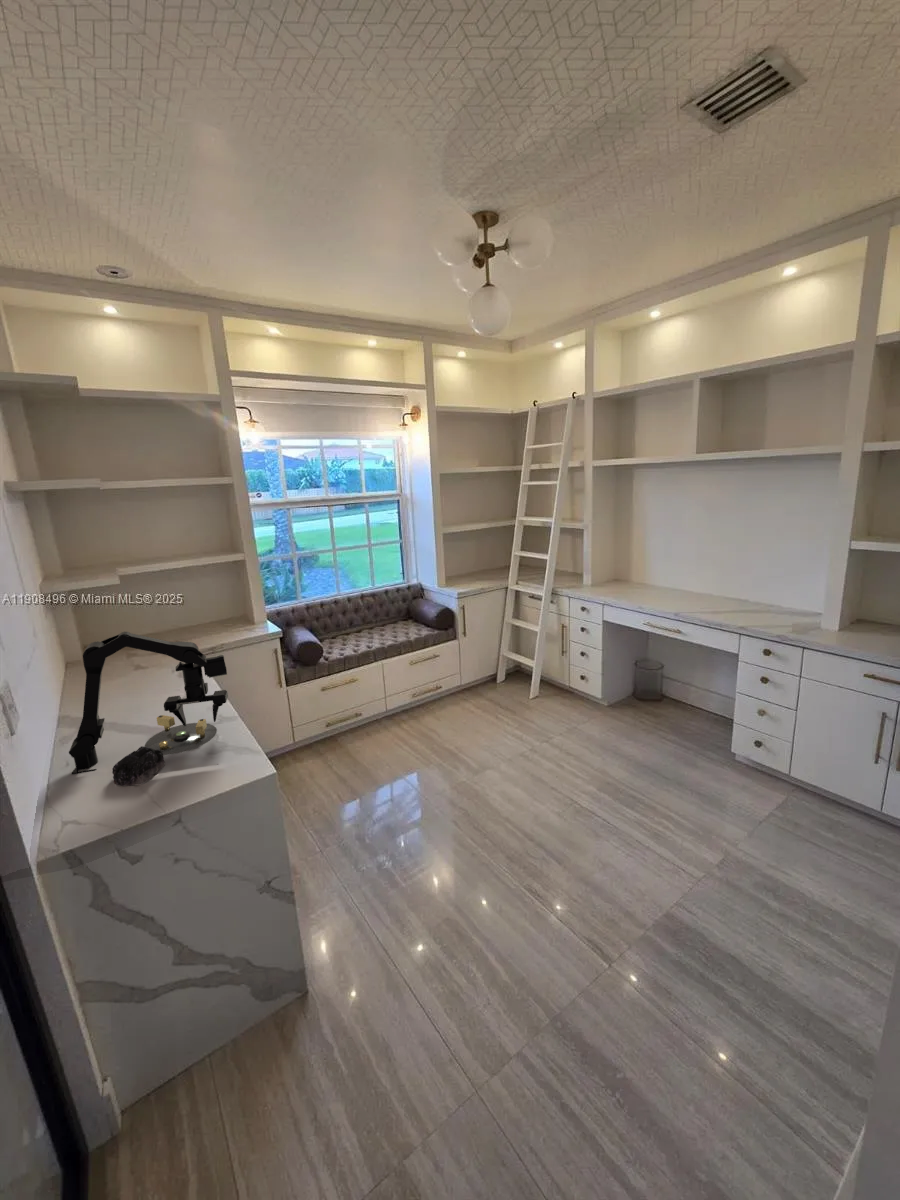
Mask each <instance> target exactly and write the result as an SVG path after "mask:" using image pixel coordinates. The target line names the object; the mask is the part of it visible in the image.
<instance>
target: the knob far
mask: <svg viewBox="0 0 900 1200" xmlns="http://www.w3.org/2000/svg"><path fill="white" fill-rule="evenodd" d="M175 722H176V721H175V717H174V716H170V715H165V714H161V715H159V716H157V717H156V723H157V726H161V727H163V728H164V730H165V731H166V732H167V731H170V728H172V727H174V726H176V723H175Z"/></svg>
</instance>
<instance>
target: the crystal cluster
mask: <svg viewBox="0 0 900 1200" xmlns="http://www.w3.org/2000/svg"><path fill="white" fill-rule="evenodd" d="M165 763H166V761H165V757H164V755H163V753H162V751H161V750H154V749H152V748H148V747H145V746H143V745H142V746H140V747H138V749H136V750H133V751H132V752H130V753H129V754H127V755H126V756H124V757H123V758H122V759H120V760H118V761H117V762H116V763H115V764H114V765H113V767H112V772H111V773H112V775H113V776H112V778H113V783H114V786H115V785H116V786H122V787H123V786H124V787H128V786H129V787H130V786H136V785H143V784H145V783H147V782H149V781H151V780H153V779H154V777H156V776H157V775H158V774H159V773H157V772H159V770H161V769H163V768H164V767H165Z"/></svg>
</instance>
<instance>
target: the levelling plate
mask: <svg viewBox="0 0 900 1200" xmlns="http://www.w3.org/2000/svg"><path fill="white" fill-rule="evenodd" d="M197 723H198V722H192V723H191V722H190V723H186V726H184V725H183V724H180V725H174V726H171V727H170V731H167V732H166V731H165V729H164V730H162V731H160V732H158V733H156V734H154V735H153V736H151V737H150V738H149V739H148V740H147V741H146V742H145V744H144V747H148V748H152V749H154V750H161V751H162V753H163V756H167V755H168V756H169V755H174V754H180V753H185V752H188V751H192V750H194V749H196V748H199V747H201V746H203V745H205V744H207V743H209V742H210V741H211V740H213V738H214V737H215V736H216V735H217V732H218V729H217V727H216V726H215V725H214V724H212V723H207V722H206V724H207V727H206V730H205V737H202V738H201V737H200V734H199V735H197V734H196V728H195V727H196V725H197Z"/></svg>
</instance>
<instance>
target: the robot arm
mask: <svg viewBox="0 0 900 1200" xmlns="http://www.w3.org/2000/svg"><path fill="white" fill-rule="evenodd" d="M124 648H131V649H136V650H140V651H145V652H151V653H155V654H160V655H165V656H168V657H170V658H172V659H174V660H176V661H179V662H178V664H177V665H176V666H175V672H182V679H183V683H184V692H185V697H184V698H181V695H173V696H168V697H167V698H166V700H165V701H164V703H163V709H164V712H169V713H170V714H171V713H172V714H173V715H175V717H176V718H178V720H179V721H180V722H181V725H184V726H186V724H187V720H186V716H185V715H186V714H185V713H184V712H185V711H184V705H190V704H191V705H192V704H197V703H204V702H212V703H213V704H212V718H213V722H214V723H216V721H217V717H218V712H219V708H220V707H221V706H223V705H224V704H226V703H227V700H228V697H229V692H228V690H226V689H221V690H215V691H213V692H214V693H213V694H209V695H207V694H208V692H209V688H208V687H209V686H208V685H209V684H208V682H205V680H204V676H206V677H207V678H209V679H210V678H215V677H222V676H227V675H228V672H227V666H226V662H225V657H224V654H220V655H217V656H212V657H207V656H206V655H205V654H203V652H201V651H200V649H199V646H198V645H197V643H195V642H192V641H170V640H169V641H168V640H163V639H158V638H154V637H149V636H145V635H141V634H136V633H132V632H129V631H121V632H120V633H118V634H117V635H113V636H110V637H108V638H106V639H104V640H101V641H93V642H91V643H89V644H88V645H87V646H86V647H85V650H84V651H83V653H82V663H83V667H84V671H85V686H84V696H83V697H84V700H83V710H82V711H83V712H82V718H81V722H80V725H79V727H78V728H79V729H78V731H77V733H76V734H77V735H76V737H75V738H74V739H73V741H72V744H71V746H70V749H69V750H68V754H69V755H70V757H71V758H73V760H74V765H75V768H74V769H73V770H72V771H71V775H76V774H83V773H90V772H95V771H97V768H95V769H91V768H92V767H94V766H95V765H97V764H98V763H99V760H98V754H97V749H96V745H97V744H98V743H99V740H100V739H102V738H103V734H104V731H105V729H104V723H105V718H104V717H103V718H100V716H99V709H100V699H101V697H100V696H101V686H102V674H103V669H104V666H105V663H106V660H107V658H108V657H111V656H112V655H114V654H116V653H117V652H119V651H120V650H122V649H124ZM202 668H203V669H202ZM203 670H204V674H203Z"/></svg>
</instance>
